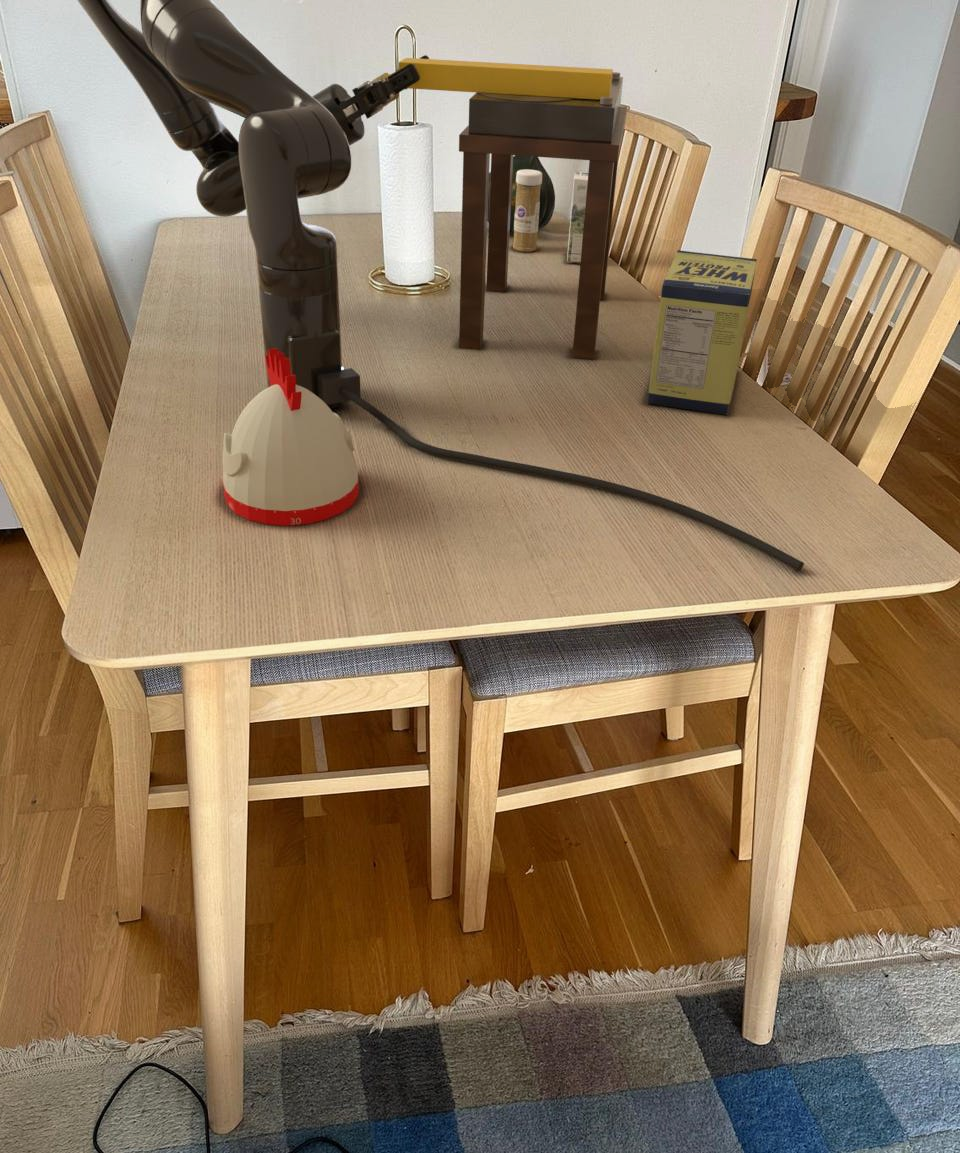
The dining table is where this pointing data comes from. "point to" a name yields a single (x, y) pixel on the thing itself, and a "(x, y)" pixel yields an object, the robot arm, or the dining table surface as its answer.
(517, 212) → the sprinkles bottle
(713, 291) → the protein box
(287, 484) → the kitchen timer
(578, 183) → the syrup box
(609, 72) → the yellow rectangular bar
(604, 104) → the hob stand
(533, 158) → the squash
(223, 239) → the dining table surface
